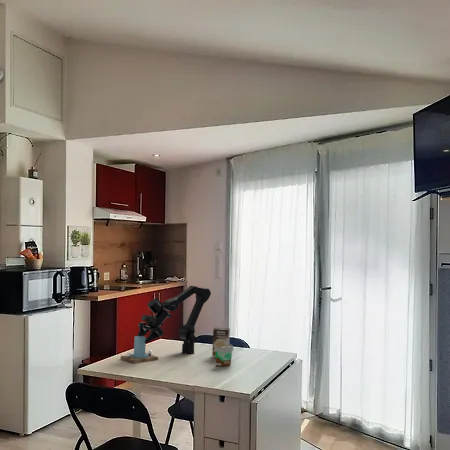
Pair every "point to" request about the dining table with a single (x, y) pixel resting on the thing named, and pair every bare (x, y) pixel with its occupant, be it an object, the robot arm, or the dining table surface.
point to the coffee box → (220, 338)
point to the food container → (224, 355)
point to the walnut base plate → (139, 359)
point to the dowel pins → (148, 354)
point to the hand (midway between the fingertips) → (140, 341)
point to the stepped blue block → (139, 347)
